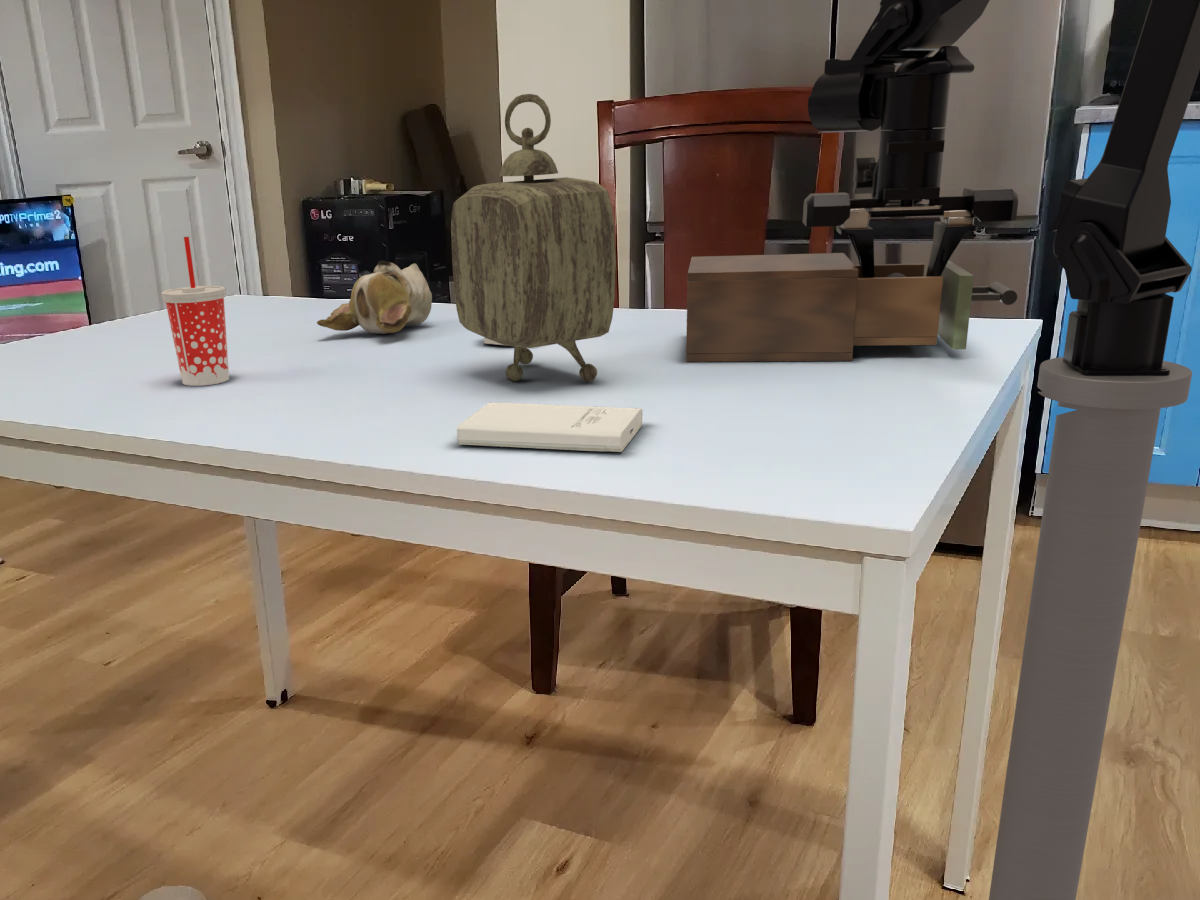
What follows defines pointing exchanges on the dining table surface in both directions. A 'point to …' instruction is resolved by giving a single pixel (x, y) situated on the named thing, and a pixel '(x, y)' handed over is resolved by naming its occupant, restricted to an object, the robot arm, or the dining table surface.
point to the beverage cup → (198, 330)
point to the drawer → (919, 305)
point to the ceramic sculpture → (384, 301)
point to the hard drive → (551, 427)
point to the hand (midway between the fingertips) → (898, 298)
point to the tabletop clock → (534, 255)
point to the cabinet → (771, 308)
